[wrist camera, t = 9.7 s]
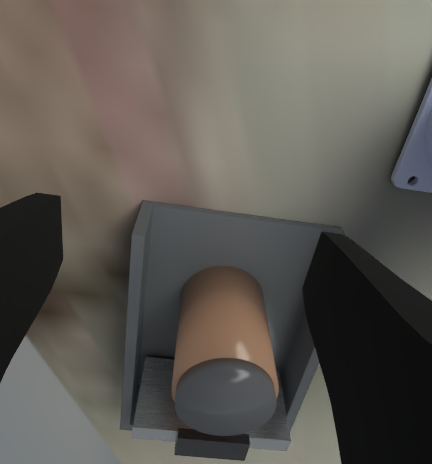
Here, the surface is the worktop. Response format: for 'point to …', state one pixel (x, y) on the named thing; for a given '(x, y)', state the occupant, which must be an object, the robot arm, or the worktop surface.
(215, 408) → the jar
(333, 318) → the robot arm
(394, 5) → the worktop surface
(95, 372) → the worktop surface
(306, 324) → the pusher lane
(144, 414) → the pusher plate
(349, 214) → the worktop surface
